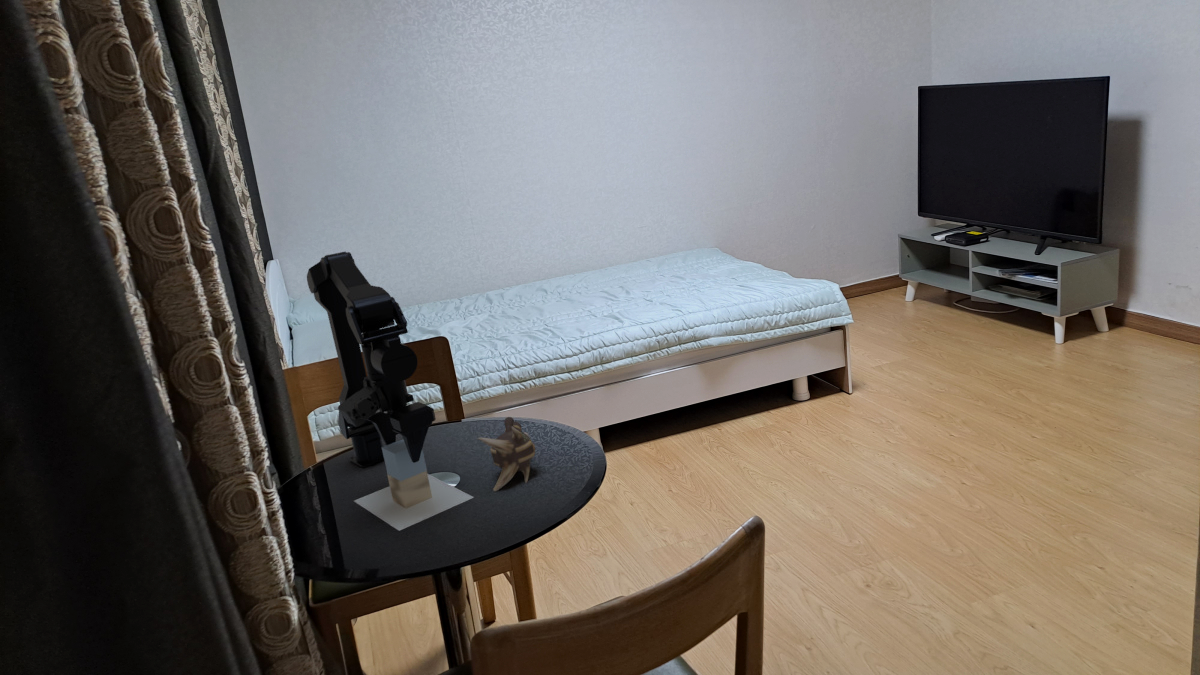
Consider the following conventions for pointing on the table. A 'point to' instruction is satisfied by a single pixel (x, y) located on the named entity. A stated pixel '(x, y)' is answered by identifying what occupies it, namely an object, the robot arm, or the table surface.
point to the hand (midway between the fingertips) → (403, 455)
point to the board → (405, 517)
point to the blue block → (402, 461)
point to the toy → (511, 452)
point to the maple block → (410, 489)
